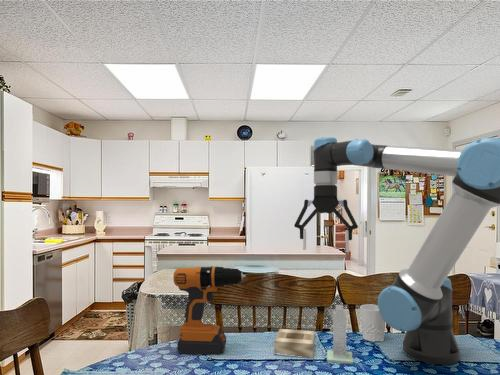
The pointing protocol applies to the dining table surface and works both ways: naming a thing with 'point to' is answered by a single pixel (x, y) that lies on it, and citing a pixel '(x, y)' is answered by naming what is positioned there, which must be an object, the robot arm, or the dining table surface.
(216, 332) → the power drill
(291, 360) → the dining table surface
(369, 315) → the white cup
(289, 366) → the dining table surface
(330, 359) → the mat
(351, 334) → the dining table surface
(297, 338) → the socket block
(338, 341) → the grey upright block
